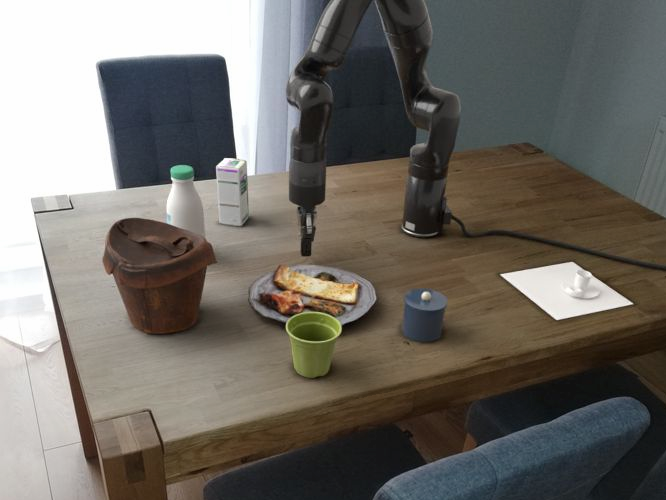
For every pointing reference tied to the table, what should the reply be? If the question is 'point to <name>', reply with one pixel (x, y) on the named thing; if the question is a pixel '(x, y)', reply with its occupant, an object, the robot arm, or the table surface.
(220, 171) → the syrup box
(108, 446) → the table surface
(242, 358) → the table surface
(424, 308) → the sugar pot
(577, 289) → the teacup and saucer
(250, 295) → the food plate
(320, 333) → the plant pot
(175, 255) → the brown covered bucket
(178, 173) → the milk bottle
